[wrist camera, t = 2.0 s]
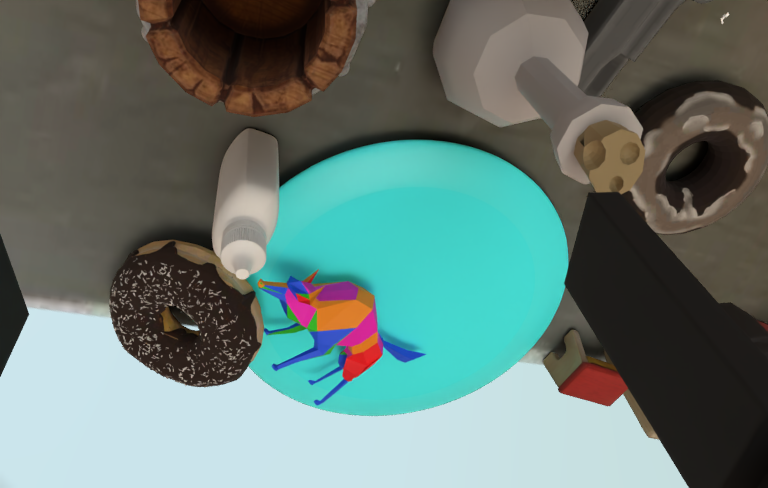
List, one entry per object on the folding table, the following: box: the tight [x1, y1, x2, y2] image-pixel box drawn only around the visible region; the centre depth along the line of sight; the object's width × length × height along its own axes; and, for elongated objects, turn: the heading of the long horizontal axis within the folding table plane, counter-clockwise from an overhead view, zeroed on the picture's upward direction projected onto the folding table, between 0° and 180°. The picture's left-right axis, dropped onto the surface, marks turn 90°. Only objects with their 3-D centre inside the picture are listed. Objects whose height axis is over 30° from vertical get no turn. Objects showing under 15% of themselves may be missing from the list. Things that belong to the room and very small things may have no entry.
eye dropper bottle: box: [212, 128, 279, 279], centre depth 37 cm, size 4×6×12 cm
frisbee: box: [246, 140, 568, 416], centre depth 49 cm, size 27×27×2 cm
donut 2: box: [621, 81, 768, 235], centre depth 45 cm, size 12×12×4 cm
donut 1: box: [109, 240, 264, 387], centre depth 44 cm, size 11×12×4 cm
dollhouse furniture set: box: [543, 320, 768, 439], centre depth 56 cm, size 12×22×9 cm, turn 62°
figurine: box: [258, 269, 426, 406], centre depth 46 cm, size 4×15×9 cm
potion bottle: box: [433, 0, 645, 194], centre depth 32 cm, size 9×9×18 cm
